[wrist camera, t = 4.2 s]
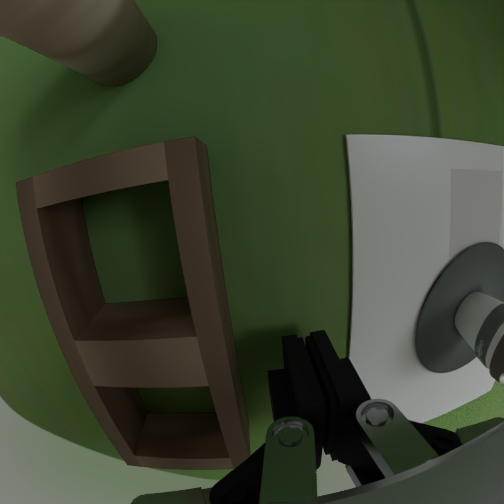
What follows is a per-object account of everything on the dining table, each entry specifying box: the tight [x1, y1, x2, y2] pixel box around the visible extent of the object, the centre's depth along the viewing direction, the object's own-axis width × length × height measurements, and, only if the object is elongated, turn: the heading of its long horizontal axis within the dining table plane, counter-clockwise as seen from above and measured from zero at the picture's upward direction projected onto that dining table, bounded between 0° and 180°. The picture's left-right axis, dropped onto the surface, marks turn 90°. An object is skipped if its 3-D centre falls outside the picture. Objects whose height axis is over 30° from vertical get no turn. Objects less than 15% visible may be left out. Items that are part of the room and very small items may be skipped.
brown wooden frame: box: [16, 137, 251, 470], centre depth 10 cm, size 6×13×3 cm, turn 6°
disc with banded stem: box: [415, 242, 504, 386], centre depth 10 cm, size 12×12×5 cm
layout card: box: [345, 134, 504, 423], centre depth 12 cm, size 13×17×1 cm
